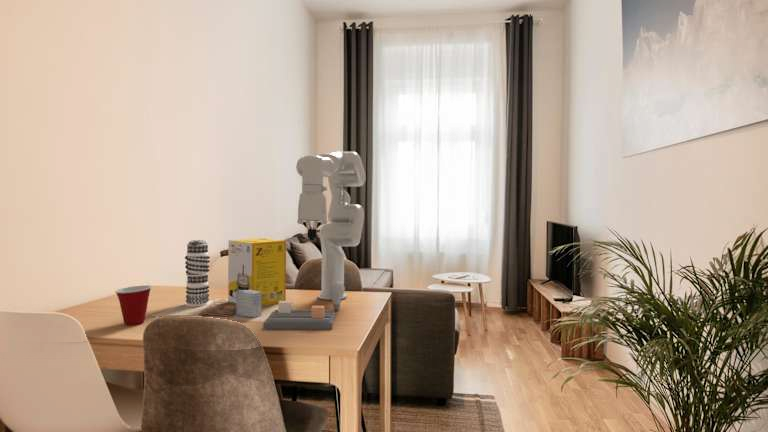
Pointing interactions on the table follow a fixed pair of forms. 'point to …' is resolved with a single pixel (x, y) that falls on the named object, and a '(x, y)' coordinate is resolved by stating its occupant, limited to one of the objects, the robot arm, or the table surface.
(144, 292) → the plastic cup
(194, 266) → the decorative candle
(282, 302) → the off-white block
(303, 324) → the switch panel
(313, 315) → the orange cube
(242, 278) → the packaging box
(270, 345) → the table surface
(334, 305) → the lightbulb
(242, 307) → the medicine box
